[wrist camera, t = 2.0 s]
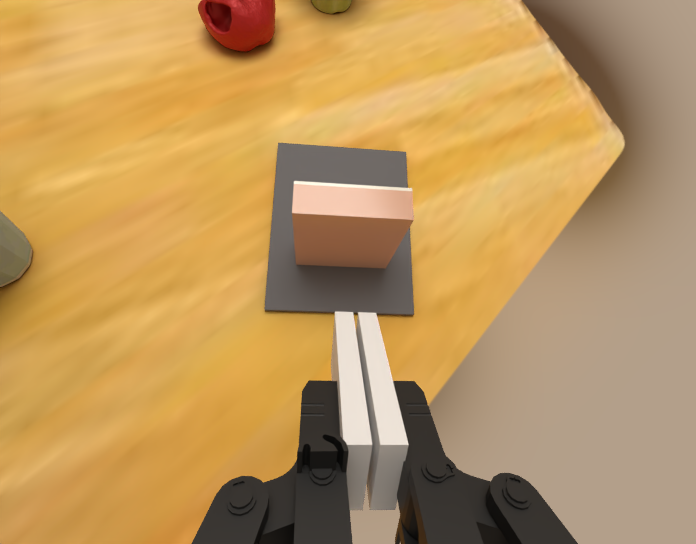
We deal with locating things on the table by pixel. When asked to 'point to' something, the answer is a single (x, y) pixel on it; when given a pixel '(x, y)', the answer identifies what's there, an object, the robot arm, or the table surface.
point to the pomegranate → (239, 22)
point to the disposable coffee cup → (12, 252)
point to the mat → (333, 281)
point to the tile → (349, 223)
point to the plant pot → (331, 5)
